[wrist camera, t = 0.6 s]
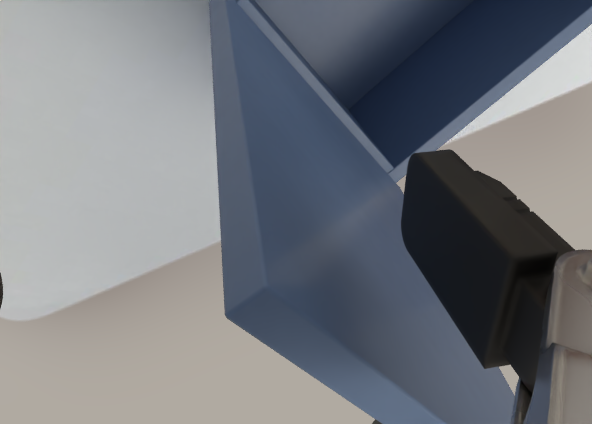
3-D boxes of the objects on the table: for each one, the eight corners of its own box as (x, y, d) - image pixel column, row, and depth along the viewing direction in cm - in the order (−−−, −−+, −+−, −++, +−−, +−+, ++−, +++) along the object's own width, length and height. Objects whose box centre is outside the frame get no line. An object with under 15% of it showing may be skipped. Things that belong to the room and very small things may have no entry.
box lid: (266, 286, 7) (223, 318, 7) (591, 535, 14) (563, 548, 14) (223, -13, 20) (208, 2, 21) (400, 187, 27) (387, 197, 27)
